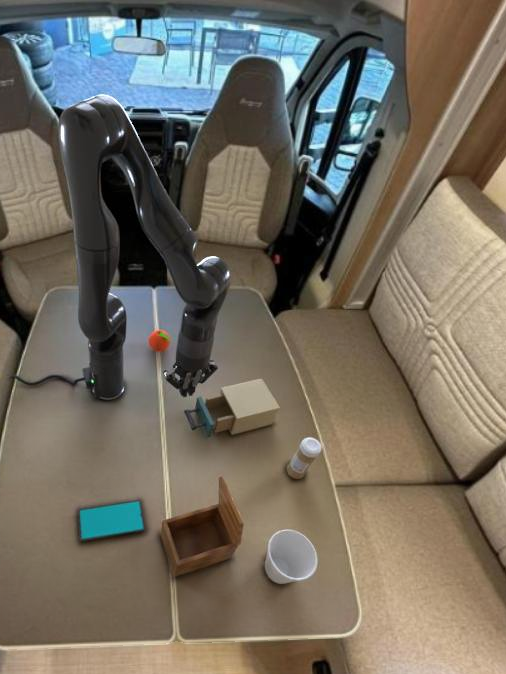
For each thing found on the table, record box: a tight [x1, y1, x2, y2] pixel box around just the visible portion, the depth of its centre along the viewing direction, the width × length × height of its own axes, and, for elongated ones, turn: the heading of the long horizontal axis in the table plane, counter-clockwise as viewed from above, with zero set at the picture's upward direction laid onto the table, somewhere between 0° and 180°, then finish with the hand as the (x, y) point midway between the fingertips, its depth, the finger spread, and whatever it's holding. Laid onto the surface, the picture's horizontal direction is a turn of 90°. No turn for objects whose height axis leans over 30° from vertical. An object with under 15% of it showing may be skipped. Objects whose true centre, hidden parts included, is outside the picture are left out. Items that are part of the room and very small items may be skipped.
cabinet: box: [218, 378, 281, 436], centre depth 116 cm, size 13×11×8 cm
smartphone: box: [77, 499, 146, 543], centre depth 97 cm, size 7×1×15 cm
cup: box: [264, 529, 319, 585], centre depth 88 cm, size 10×10×11 cm
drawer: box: [183, 394, 235, 439], centre depth 114 cm, size 16×9×6 cm, turn 107°
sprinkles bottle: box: [286, 437, 323, 480], centre depth 102 cm, size 5×5×14 cm
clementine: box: [148, 329, 172, 353], centre depth 132 cm, size 8×7×7 cm
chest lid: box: [218, 475, 245, 546], centre depth 83 cm, size 14×10×1 cm
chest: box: [159, 503, 239, 578], centre depth 91 cm, size 14×10×9 cm
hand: (186, 393), depth 102 cm, fingers closed
